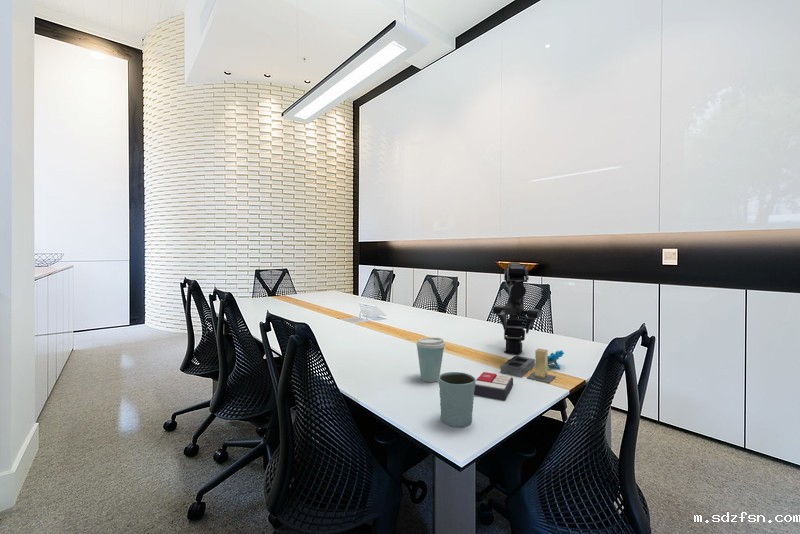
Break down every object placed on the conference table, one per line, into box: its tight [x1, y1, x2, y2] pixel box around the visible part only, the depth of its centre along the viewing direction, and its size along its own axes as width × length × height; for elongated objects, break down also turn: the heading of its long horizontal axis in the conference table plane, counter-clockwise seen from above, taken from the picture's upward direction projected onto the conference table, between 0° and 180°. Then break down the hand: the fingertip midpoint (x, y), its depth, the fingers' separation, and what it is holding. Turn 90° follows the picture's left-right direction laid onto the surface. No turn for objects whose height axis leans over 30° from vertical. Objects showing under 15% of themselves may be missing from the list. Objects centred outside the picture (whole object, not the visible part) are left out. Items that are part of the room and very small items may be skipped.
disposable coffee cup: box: [416, 336, 446, 383], centre depth 130 cm, size 11×11×15 cm
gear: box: [547, 350, 565, 371], centre depth 143 cm, size 11×6×10 cm
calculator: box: [474, 371, 514, 402], centre depth 121 cm, size 11×4×15 cm
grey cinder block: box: [500, 355, 535, 378], centre depth 141 cm, size 8×16×3 cm, turn 142°
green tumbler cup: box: [438, 371, 477, 429], centre depth 99 cm, size 10×10×12 cm
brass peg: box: [534, 348, 549, 379], centre depth 131 cm, size 3×3×10 cm
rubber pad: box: [526, 371, 557, 384], centre depth 132 cm, size 8×8×1 cm
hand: (515, 332), depth 149 cm, fingers open, 9 cm apart
